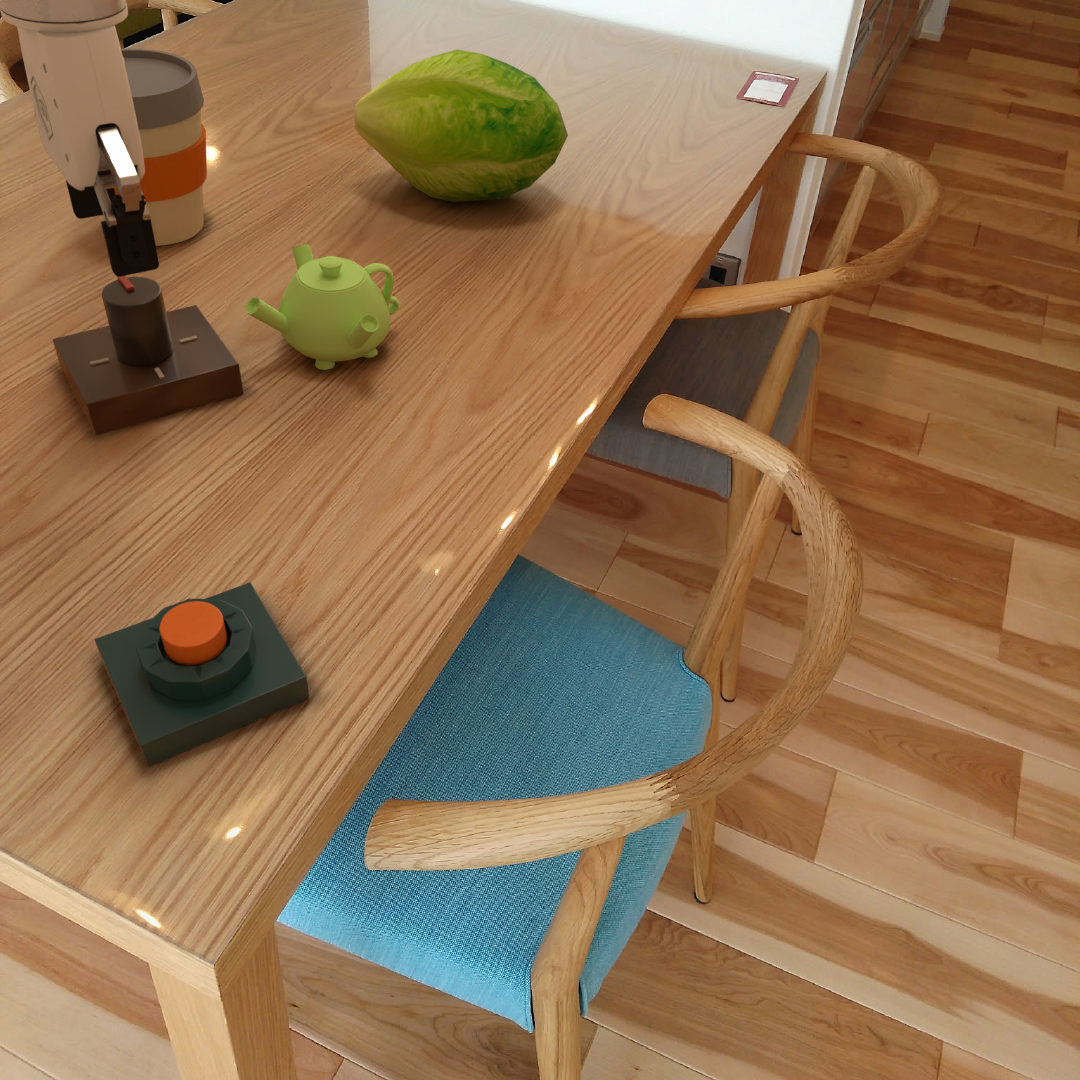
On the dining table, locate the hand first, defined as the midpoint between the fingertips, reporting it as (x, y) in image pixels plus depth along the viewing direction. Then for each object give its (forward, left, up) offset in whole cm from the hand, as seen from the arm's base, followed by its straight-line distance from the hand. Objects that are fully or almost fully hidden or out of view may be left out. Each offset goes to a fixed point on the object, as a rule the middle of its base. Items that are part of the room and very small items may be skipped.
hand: (116, 241), depth 76 cm
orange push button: (-7, -32, -9) cm, 34 cm away
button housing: (-7, -32, -13) cm, 35 cm away
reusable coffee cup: (+9, +26, -13) cm, 31 cm away
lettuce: (+41, +20, -13) cm, 48 cm away
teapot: (+15, -2, -13) cm, 20 cm away
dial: (0, 0, -10) cm, 10 cm away
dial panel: (0, 0, -13) cm, 13 cm away
